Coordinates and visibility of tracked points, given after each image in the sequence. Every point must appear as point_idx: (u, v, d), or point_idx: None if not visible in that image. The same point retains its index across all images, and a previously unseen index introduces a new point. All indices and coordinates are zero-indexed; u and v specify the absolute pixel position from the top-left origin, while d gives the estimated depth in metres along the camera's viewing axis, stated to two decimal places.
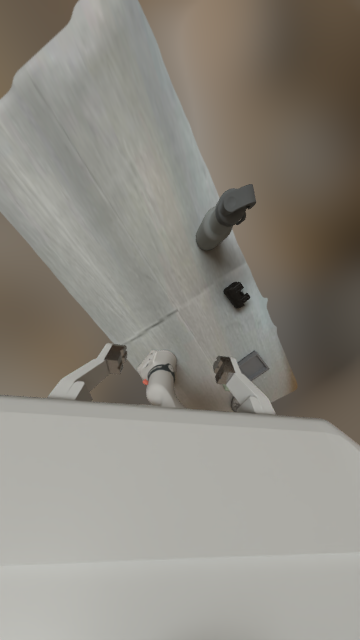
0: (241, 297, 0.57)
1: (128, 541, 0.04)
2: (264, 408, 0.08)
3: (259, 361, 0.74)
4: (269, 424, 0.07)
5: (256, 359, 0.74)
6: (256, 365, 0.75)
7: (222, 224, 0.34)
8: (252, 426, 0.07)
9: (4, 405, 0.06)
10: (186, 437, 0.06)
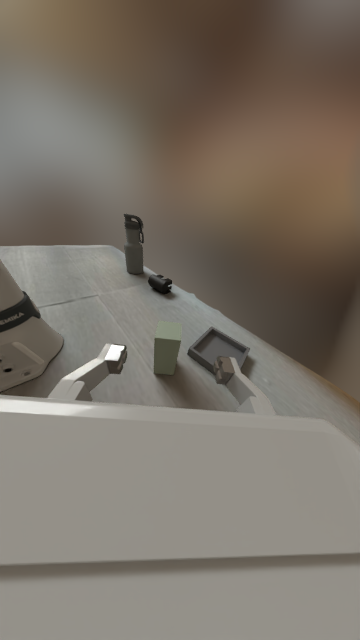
0: (163, 279, 0.63)
1: (128, 541, 0.04)
2: (264, 408, 0.08)
3: (227, 344, 0.43)
4: (269, 424, 0.07)
5: (219, 341, 0.43)
6: (227, 351, 0.40)
7: (128, 227, 0.65)
8: (252, 426, 0.07)
9: (4, 405, 0.06)
10: (186, 437, 0.06)
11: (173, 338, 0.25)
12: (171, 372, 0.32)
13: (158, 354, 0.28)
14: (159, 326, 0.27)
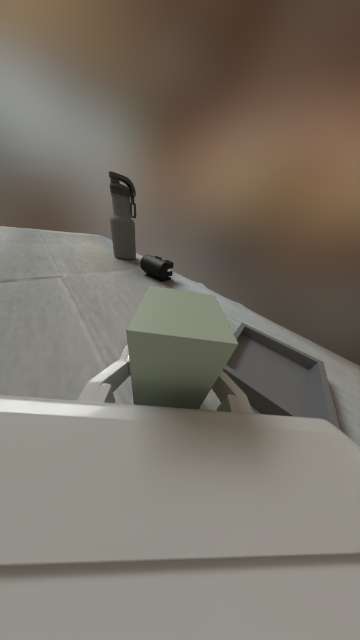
0: None
1: (128, 541, 0.04)
2: (241, 406, 0.08)
3: (274, 353, 0.24)
4: (269, 424, 0.07)
5: (259, 348, 0.24)
6: (279, 366, 0.22)
7: (115, 192, 0.48)
8: (252, 426, 0.07)
9: (4, 405, 0.06)
10: (186, 437, 0.06)
11: (206, 335, 0.06)
12: None
13: (146, 390, 0.09)
14: (151, 298, 0.08)
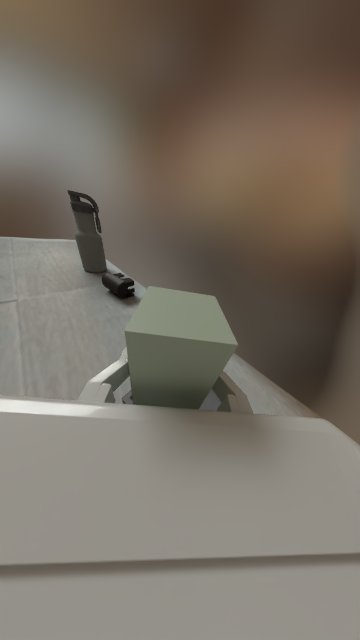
0: (121, 279, 0.47)
1: (128, 541, 0.04)
2: (241, 406, 0.08)
3: None
4: (269, 424, 0.07)
5: None
6: None
7: (75, 209, 0.49)
8: (252, 426, 0.07)
9: (4, 405, 0.06)
10: (186, 437, 0.06)
11: (205, 336, 0.06)
12: None
13: (145, 391, 0.08)
14: (150, 298, 0.08)
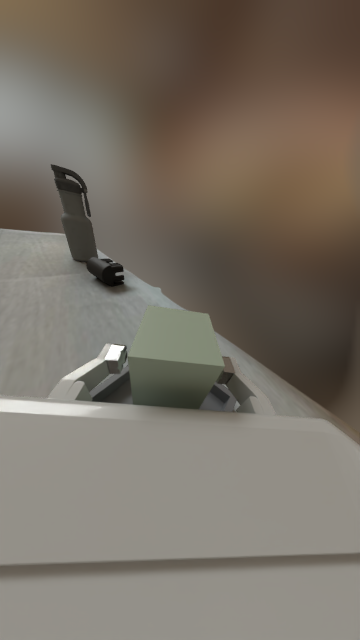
0: (108, 263, 0.41)
1: (128, 541, 0.04)
2: (264, 408, 0.08)
3: None
4: (269, 424, 0.07)
5: None
6: None
7: (60, 187, 0.43)
8: (252, 426, 0.07)
9: (4, 405, 0.06)
10: (186, 437, 0.06)
11: (197, 358, 0.07)
12: None
13: (145, 402, 0.09)
14: (149, 320, 0.09)
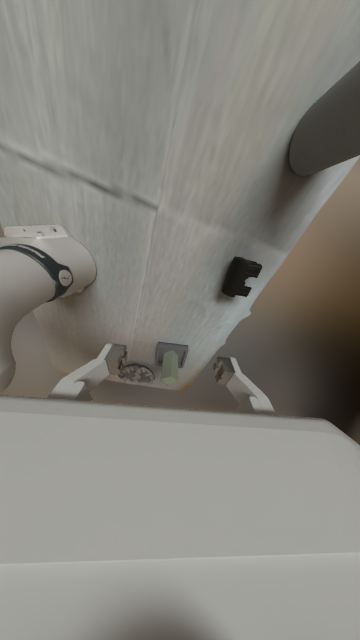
0: (241, 286, 0.37)
1: (128, 541, 0.04)
2: (264, 408, 0.08)
3: (181, 356, 0.63)
4: (269, 424, 0.07)
5: (180, 353, 0.62)
6: None
7: None
8: (252, 426, 0.07)
9: (4, 405, 0.06)
10: (186, 437, 0.06)
11: (165, 383, 0.53)
12: None
13: None
14: (167, 377, 0.51)
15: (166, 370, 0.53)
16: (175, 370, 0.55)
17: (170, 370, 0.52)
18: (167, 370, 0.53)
